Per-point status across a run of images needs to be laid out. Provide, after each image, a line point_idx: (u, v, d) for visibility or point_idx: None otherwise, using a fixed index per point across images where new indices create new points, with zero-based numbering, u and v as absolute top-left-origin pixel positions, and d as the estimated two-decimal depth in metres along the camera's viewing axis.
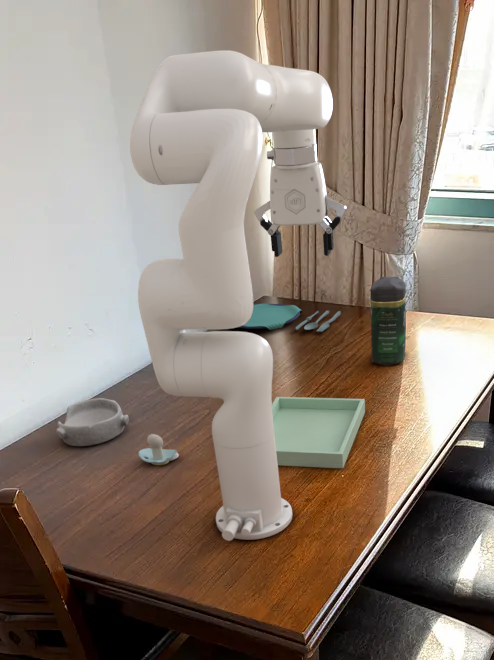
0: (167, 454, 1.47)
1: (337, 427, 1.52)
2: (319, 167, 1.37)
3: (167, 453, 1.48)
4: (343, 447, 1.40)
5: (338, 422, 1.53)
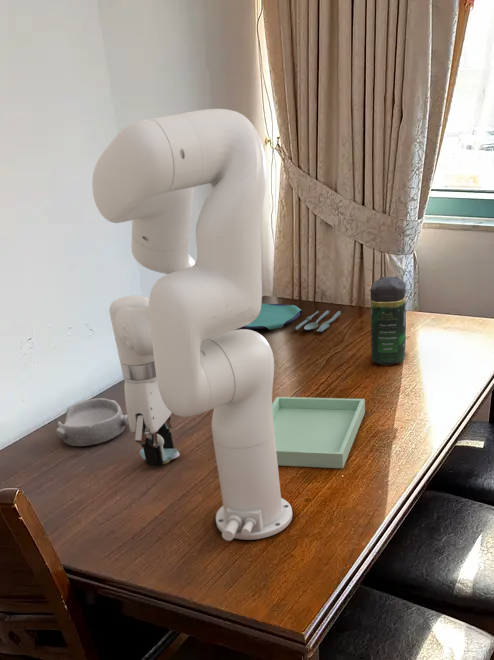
0: (168, 453, 1.48)
1: (337, 427, 1.52)
2: (128, 386, 1.35)
3: (168, 452, 1.48)
4: (343, 447, 1.40)
5: (338, 422, 1.53)
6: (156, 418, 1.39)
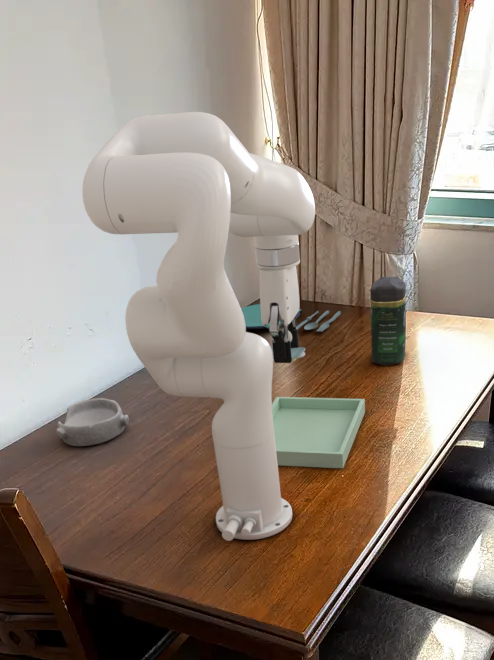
0: (294, 352, 1.42)
1: (337, 427, 1.52)
2: (265, 273, 1.30)
3: (294, 351, 1.42)
4: (343, 447, 1.40)
5: (338, 422, 1.53)
6: (290, 309, 1.33)
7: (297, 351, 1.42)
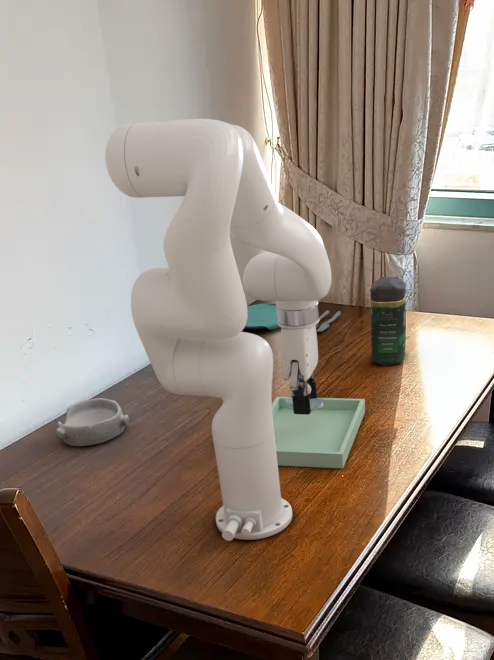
0: (312, 403, 1.48)
1: (337, 427, 1.52)
2: (286, 332, 1.36)
3: (312, 402, 1.48)
4: (343, 447, 1.40)
5: (338, 422, 1.53)
6: (309, 365, 1.39)
7: (315, 402, 1.48)
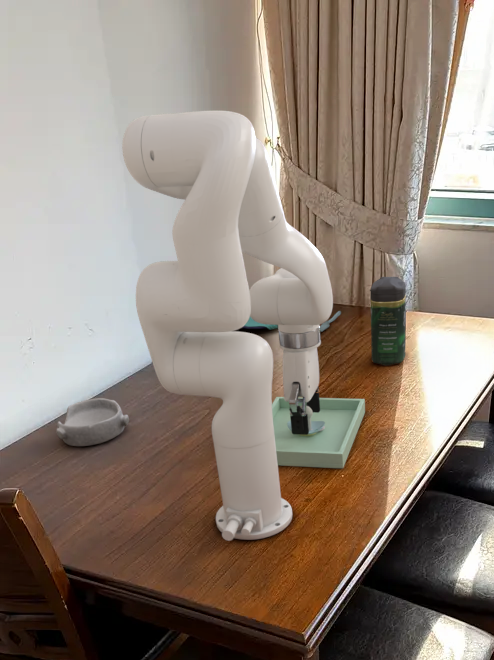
0: (314, 425, 1.50)
1: (337, 427, 1.52)
2: (288, 355, 1.38)
3: (314, 424, 1.51)
4: (343, 447, 1.40)
5: (338, 422, 1.53)
6: (311, 387, 1.42)
7: (317, 425, 1.50)
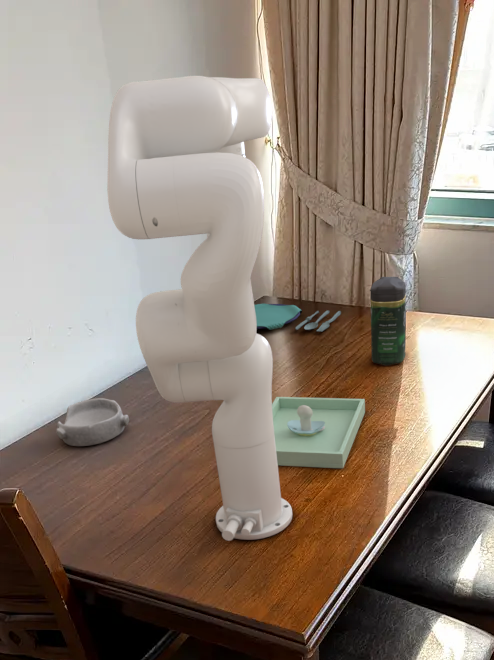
0: (314, 425, 1.50)
1: (337, 427, 1.52)
2: None
3: (314, 424, 1.51)
4: (343, 447, 1.40)
5: (338, 422, 1.53)
6: None
7: (317, 425, 1.50)
